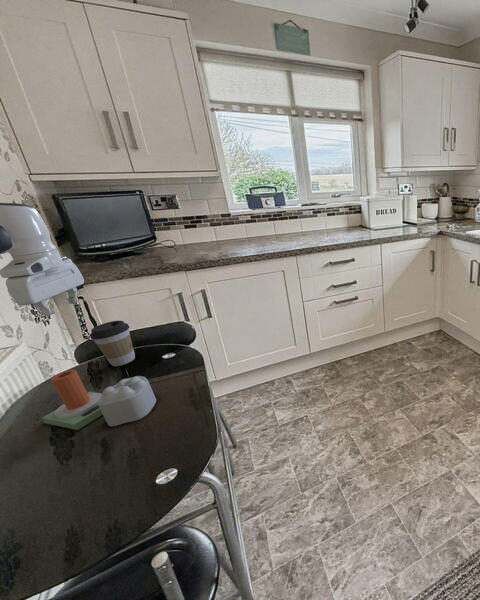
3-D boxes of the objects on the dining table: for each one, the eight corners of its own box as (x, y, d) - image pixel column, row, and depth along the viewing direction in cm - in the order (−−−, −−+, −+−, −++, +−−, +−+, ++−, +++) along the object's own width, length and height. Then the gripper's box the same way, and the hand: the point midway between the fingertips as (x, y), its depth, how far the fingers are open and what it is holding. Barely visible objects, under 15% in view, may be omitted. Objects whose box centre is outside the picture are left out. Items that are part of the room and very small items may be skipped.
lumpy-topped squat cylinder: (102, 429, 88) (88, 402, 85) (123, 400, 100) (112, 376, 96) (146, 417, 91) (135, 392, 88) (162, 391, 102) (152, 367, 99)
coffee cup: (145, 358, 124) (130, 323, 119) (107, 373, 116) (89, 335, 111) (138, 350, 131) (123, 316, 126) (102, 363, 124) (84, 328, 118)
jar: (62, 408, 93) (46, 379, 90) (83, 397, 98) (68, 368, 94) (74, 410, 92) (58, 381, 88) (95, 399, 97) (80, 370, 93)
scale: (44, 423, 92) (40, 415, 91) (92, 396, 103) (88, 389, 102) (77, 430, 88) (73, 422, 87) (123, 401, 99) (119, 394, 98)
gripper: (56, 256, 99) (75, 298, 104) (-8, 273, 81) (19, 324, 85) (79, 253, 100) (98, 295, 105) (21, 270, 82) (47, 320, 86)
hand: (62, 308), depth 95 cm, fingers open, 8 cm apart
